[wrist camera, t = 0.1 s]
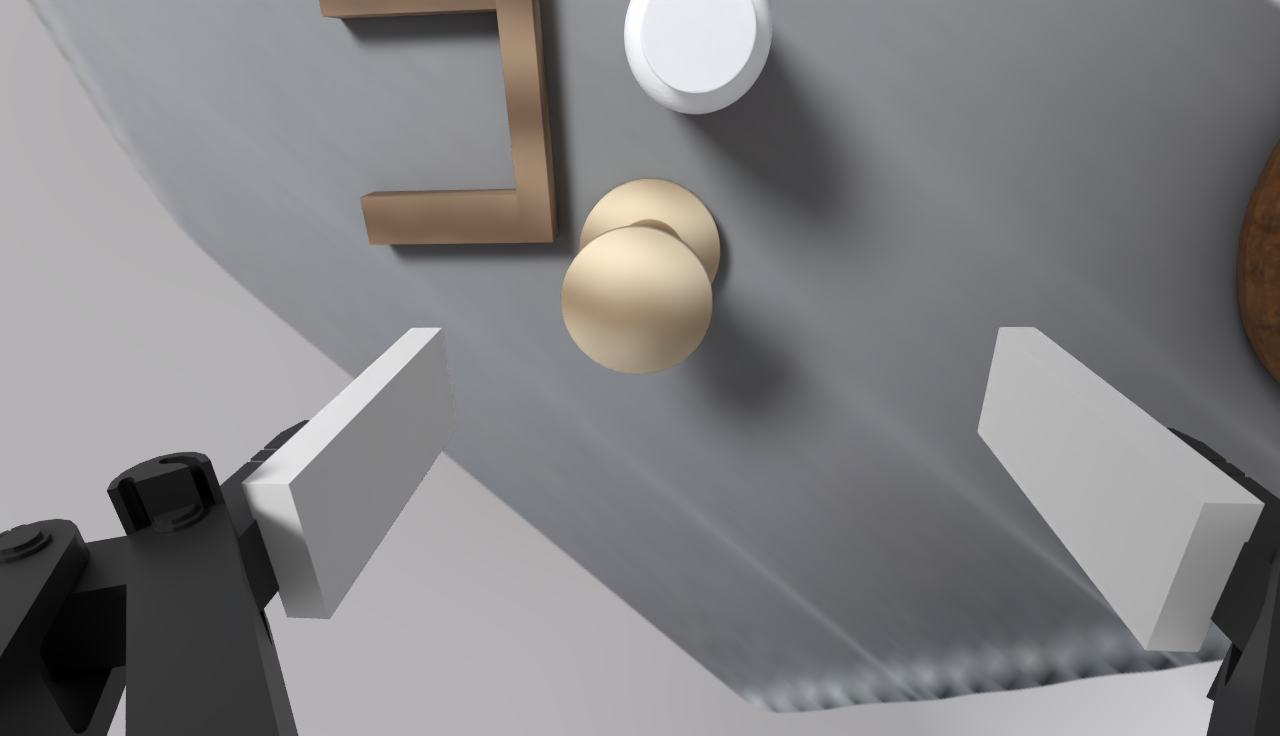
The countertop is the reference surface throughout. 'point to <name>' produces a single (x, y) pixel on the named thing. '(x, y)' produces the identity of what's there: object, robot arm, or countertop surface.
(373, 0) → the notch board
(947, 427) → the countertop surface
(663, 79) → the supplement bottle
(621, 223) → the bobbin
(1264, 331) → the bread
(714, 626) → the countertop surface
